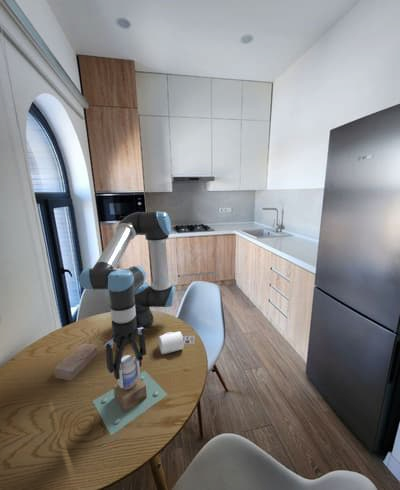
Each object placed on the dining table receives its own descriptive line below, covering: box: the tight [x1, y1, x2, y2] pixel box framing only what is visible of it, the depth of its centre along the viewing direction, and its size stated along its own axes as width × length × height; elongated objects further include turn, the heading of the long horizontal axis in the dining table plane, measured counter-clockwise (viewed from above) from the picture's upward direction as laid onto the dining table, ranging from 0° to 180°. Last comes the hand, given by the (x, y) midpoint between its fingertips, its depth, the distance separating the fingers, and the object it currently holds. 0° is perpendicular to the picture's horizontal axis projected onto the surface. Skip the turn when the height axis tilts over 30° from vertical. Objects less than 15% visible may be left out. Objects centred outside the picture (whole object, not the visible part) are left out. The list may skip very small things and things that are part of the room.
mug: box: [158, 331, 185, 355], centre depth 103 cm, size 12×10×8 cm
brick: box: [54, 343, 99, 381], centre depth 93 cm, size 17×8×5 cm, turn 169°
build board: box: [92, 370, 168, 437], centre depth 75 cm, size 20×16×2 cm
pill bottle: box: [120, 354, 137, 389], centre depth 74 cm, size 5×5×10 cm
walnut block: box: [113, 376, 147, 413], centre depth 75 cm, size 8×8×5 cm
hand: (129, 380), depth 74 cm, fingers closed on pill bottle, 5 cm apart
